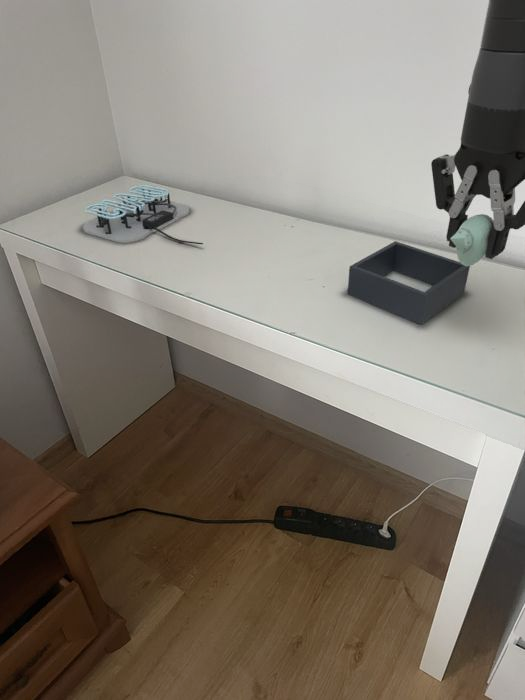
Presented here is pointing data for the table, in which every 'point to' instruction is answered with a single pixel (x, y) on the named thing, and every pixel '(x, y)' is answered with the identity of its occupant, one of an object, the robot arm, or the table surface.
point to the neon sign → (135, 216)
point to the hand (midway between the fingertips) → (472, 250)
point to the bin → (403, 298)
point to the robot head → (473, 239)
